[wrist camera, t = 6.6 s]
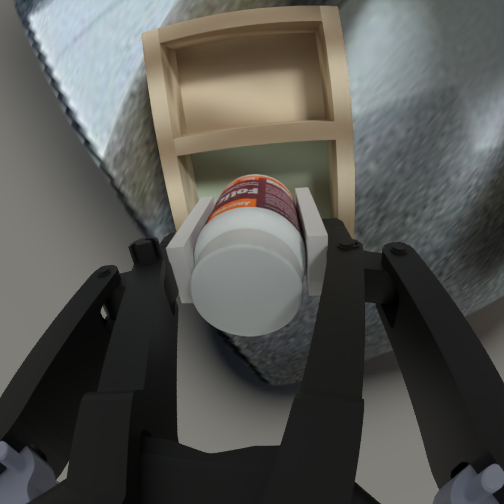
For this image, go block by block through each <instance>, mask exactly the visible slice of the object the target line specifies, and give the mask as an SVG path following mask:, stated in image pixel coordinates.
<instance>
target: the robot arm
mask: <svg viewBox="0 0 504 504" xmlns="http://www.w3.org/2000/svg"><path fill="white" fill-rule="evenodd" d="M295 195H296V208H297V212H298V216H299V221H300V226H301V229H302V235H303V239H304V242H305V246H306V255H307V265H306V271H305V273H306V279H307V285H308V291H309V296H318V295H321V298H320V303H319V308H318V313H317V318H316V323H315V328H314V333H313V337H312V342H311V347H310V351H309V356H308V360H307V364H306V369H305V373H304V377H303V381H302V385H301V389H300V392H299V394H296V396H295V398H294V401H293V404H292V408H291V411H290V415H289V418H288V421H287V425H286V428H285V432H284V435H283V438H282V441H281V445H280V446H251V447H247V448H242V449H236V450H231V451H225V452H219V453H205V452H202V451H199V450H196V449H193V448H191V447H188V446H185V445H182V444H180V443H179V441H178V435H177V383H176V382H177V331H178V329H177V328H178V305H177V302H176V297H177V295H178V293H179V296H180V299H181V302H182V303H193V302H192V299H191V295H190V279H191V275H192V272H193V269H194V267H195V261H194V250H195V245H196V241H197V238H198V235H199V233H200V231H201V229H202V227H203V226H204V224H205V223H206V221H207V219H208V217H209V215H210V213H211V211H212V209H213V207H214V205H215V201H214V196H210V197H201V199H200V200H199V201H198V203H197V204H196V206H195V207H194V208H193V210H192V211H191V213H190V214H189V215H188V217H187V218H186V220H185V221H184V222H183V224H182V225H181V227H180V228H179V230H178V231H177V233H171V234H169V235H168V236H166V237H165V238H164V239H163V240H162V242H161V243H160V244H159V242H158V238H156V237H145V238H142V239H139V240H137V241H134V242H133V243H132V244H130V246H129V250H130V253H131V256H132V259H133V262H134V266H133V269H132V271H129V272H125V273H121V274H119V271H118V268H117V266H115V265H108V266H102V267H100V268H99V269H98V270H96V271H95V272H94V273H93V274H92V275H91V276H90V277H89V278H88V279H87V281H86V282H85V283H84V284H83V285H82V286H81V288H80V289H79V290H78V291H77V292H76V294H75V295H74V296H73V297H72V298H71V300H70V301H69V302H68V303H67V305H66V306H65V307H64V308H63V310H62V311H61V312H60V313H59V314H58V316H57V317H56V318H55V320H54V321H53V322H52V324H51V325H50V326H49V328H48V329H47V330H46V331H45V333H44V334H43V335H42V337H41V338H40V339H39V341H38V342H37V343H36V345H35V346H34V348H33V349H32V350H31V352H30V353H29V355H28V356H27V358H26V359H25V361H24V362H23V363H22V365H21V367H20V368H19V369H18V371H17V372H16V374H15V375H14V377H13V378H12V380H11V381H10V383H9V385H8V386H7V388H6V389H5V391H4V393H3V394H2V396H1V398H0V504H381V503H379V502H378V501H377V500H376V499H374V498H373V497H372V496H371V495H370V494H369V493H367V492H366V491H365V490H364V489H363V488H362V487H360V486H359V485H358V484H357V483H356V482H355V476H356V470H357V464H358V457H359V449H360V442H361V434H362V425H363V414H364V399H362V387H363V372H364V349H365V302H371V303H376V308H377V310H378V313H379V315H380V317H381V320H382V322H383V325H384V327H385V330H386V332H387V335H388V337H389V340H390V343H391V345H392V348H393V351H394V353H395V356H396V359H397V361H398V364H399V367H400V370H401V372H402V375H403V378H404V381H405V384H406V387H407V390H408V393H409V396H410V399H411V402H412V405H413V409H414V412H415V415H416V418H417V422H418V425H419V428H420V432H421V436H422V439H423V443H424V446H425V450H426V454H427V458H428V462H429V465H430V468H431V472H432V474H433V477H434V479H435V481H436V484H437V486H438V488H439V491H438V493H437V494H436V496H435V498H434V501H433V504H504V383H503V381H502V379H501V377H500V375H499V373H498V371H497V370H496V368H495V366H494V364H493V362H492V361H491V359H490V357H489V355H488V354H487V352H486V350H485V349H484V347H483V346H482V344H481V342H480V340H479V339H478V337H477V336H476V334H475V332H474V331H473V330H472V328H471V326H470V325H469V323H468V322H467V320H466V319H465V317H464V316H463V314H462V313H461V311H460V310H459V308H458V307H457V305H456V304H455V302H454V301H453V300H452V298H451V297H450V295H449V294H448V293H447V291H446V290H445V288H444V287H443V286H442V284H441V283H440V282H439V280H438V279H437V278H436V276H435V275H434V274H433V272H432V271H431V270H430V269H429V267H428V266H427V265H426V263H425V262H424V261H423V260H422V258H421V257H420V256H419V255H418V253H417V252H416V251H415V250H414V249H413V248H412V247H411V246H409V245H407V244H405V243H401V242H393V243H388V244H386V245H384V247H383V248H382V253H374V252H368V251H364V250H363V246H362V244H361V243H360V242H359V241H357V240H354V239H352V237H351V236H350V234H349V232H348V231H347V228H346V227H345V225H344V223H343V221H341V220H339V219H337V218H328V219H321V217H320V214H319V212H318V210H317V207H316V205H315V202H314V200H313V198H312V195H311V193H310V191H309V188H308V187H304V188H295ZM102 306H103V308H104V310H105V312H106V314H107V316H106V318H105V319H104V318H103V317H102V315H101V308H102ZM68 461H69V465H68V473H67V478H66V479H65V480H63V481H62V482H60V483H59V482H57V481H56V479H57V478H58V477H59V476H60V474H61V473H62V471H63V470H64V468H65V466H66V465H67V463H68Z"/></svg>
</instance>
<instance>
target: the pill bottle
mask: <svg viewBox="0 0 504 504" xmlns="http://www.w3.org/2000/svg"><path fill="white" fill-rule="evenodd" d="M194 261H195V267H194V269H193V272H192V275H191V279H190V295H191V299H192V302H193V304H194V306H195V308H196V310H197V311H198V312H199V314H200V315H201V316H202V317H203V318H204V319H205V320H206V321H207V322H208V323H210V324H211V325H212V326H214V327H216V328H217V329H219V330H222V331H224V332H227V333H230V334H233V335H238V336H250V337H251V336H261V335H265V334H269V333H272V332H275V331H277V330H279V329H281V328H282V327H284V326H285V325H286V324H288V323H289V322H290V321H291V320H292V319H293V318H294V316H295V315H296V314H297V312H298V310H299V308H300V306H301V303H302V298H303V282H302V279H303V277H304V274H305V271H306V265H307V255H306V246H305V242H304V239H303V235H302V229H301V226H300V221H299V216H298V212H297V208H296V204H295V201H294V199H293V196H292V194H291V193H290V191H289V190H288V189H287V188H286V187H285V186H284V185H283V184H282V183H281V182H279V181H278V180H276V179H274V178H272V177H269V176H266V175H259V174H251V175H246V176H242V177H239V178H237V179H236V180H234V181H233V182H231V183H230V184H229V185H228V186H227V187H226V188H225V189H224V190H223V192H222V193H221V195H220V197H219V199H218V200H217V202H216V204H215V205H214V207H213V209H212V211H211V213H210V215H209V217H208V219H207V221H206V223H205V224H204V226H203V227H202V229H201V231H200V233H199V235H198V238H197V241H196V245H195V250H194Z"/></svg>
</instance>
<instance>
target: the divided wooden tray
mask: <svg viewBox="0 0 504 504" xmlns="http://www.w3.org/2000/svg"><path fill="white" fill-rule="evenodd" d="M142 43H143V51H144V60H145V68H146V75H147V82H148V89H149V96H150V102H151V109H152V115H153V121H154V127H155V132H156V138H157V143H158V149H159V154H160V159H161V164H162V169H163V174H164V179H165V183H166V188H167V193H168V197H169V202H170V206H171V211H172V215H173V219H174V223H175V228H176V232H177V231H178V230H179V228H180V227H181V225H182V224H183V222H184V221H185V220H186V218H187V217H188V215H189V214H190V213H191V211H192V210H193V208H194V207H195V206H196V204H197V203H198V201H199V200H200V199H201V197H210V196H214V201H215V204H216V202H217V200H218V199H219V197H220V195H221V193H222V192H223V190H224V189H225V188H226V187H227V186H228V185H229V184H230V183H231V182H233V181H234V180H236V179H237V178H239V177H242V176H246V175H251V174H259V175H266V176H269V177H272V178H274V179H276V180H278V181H279V182H281V183H282V184H283V185H284V186H285V187H286V188H287V189H288V190H289V191H290V193H291V194H292V196H293V199H294V201H295V204H296V195H295V188H304V187H308V188H309V191H310V193H311V195H312V198H313V200H314V202H315V205H316V207H317V210H318V212H319V214H320V217H321V219H328V218H337V219H339V220H341V221H343V223H344V225H345V227H346V228H347V231H348V232H349V234H350V236H351V237H352V239H354V226H355V164H354V138H353V121H352V108H351V96H350V86H349V76H348V68H347V60H346V52H345V45H344V39H343V32H342V26H341V21H340V15H339V10H338V6H283V7H269V8H258V9H249V10H241V11H234V12H228V13H222V14H216V15H211V16H206V17H201V18H196V19H192V20H188V21H183V22H179V23H176V24H172V25H168V26H165V27H161V28H158V29H154V30H151V31H148V32H145V33H142Z"/></svg>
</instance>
